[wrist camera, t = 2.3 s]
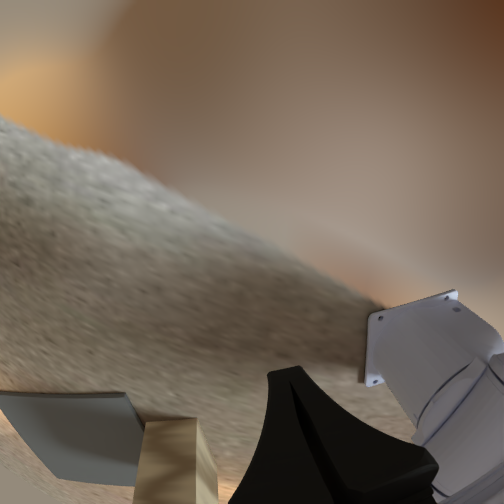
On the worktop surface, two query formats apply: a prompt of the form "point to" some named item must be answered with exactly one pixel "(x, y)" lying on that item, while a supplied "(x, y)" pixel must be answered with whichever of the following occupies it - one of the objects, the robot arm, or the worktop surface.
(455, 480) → the robot arm
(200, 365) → the worktop surface
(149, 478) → the birch block
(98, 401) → the mat
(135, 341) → the worktop surface
